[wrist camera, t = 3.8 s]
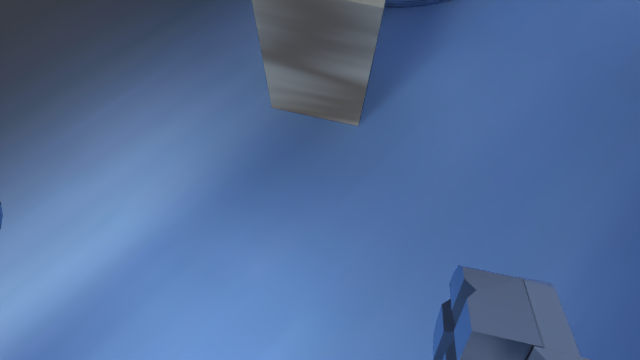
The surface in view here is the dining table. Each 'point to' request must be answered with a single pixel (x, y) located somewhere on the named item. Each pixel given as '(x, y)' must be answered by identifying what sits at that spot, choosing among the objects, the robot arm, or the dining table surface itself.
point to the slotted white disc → (410, 2)
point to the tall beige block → (318, 54)
